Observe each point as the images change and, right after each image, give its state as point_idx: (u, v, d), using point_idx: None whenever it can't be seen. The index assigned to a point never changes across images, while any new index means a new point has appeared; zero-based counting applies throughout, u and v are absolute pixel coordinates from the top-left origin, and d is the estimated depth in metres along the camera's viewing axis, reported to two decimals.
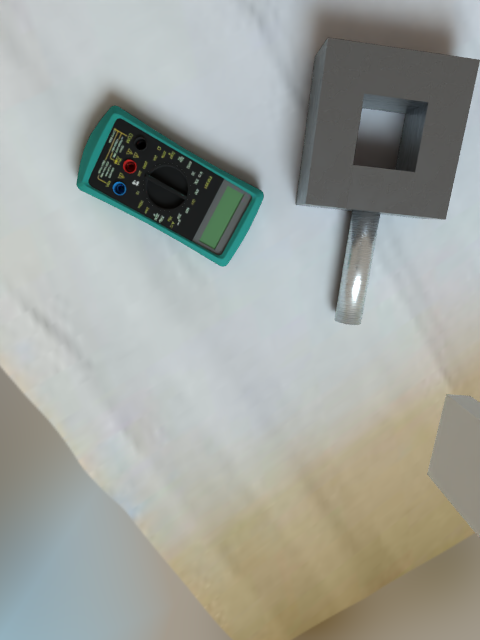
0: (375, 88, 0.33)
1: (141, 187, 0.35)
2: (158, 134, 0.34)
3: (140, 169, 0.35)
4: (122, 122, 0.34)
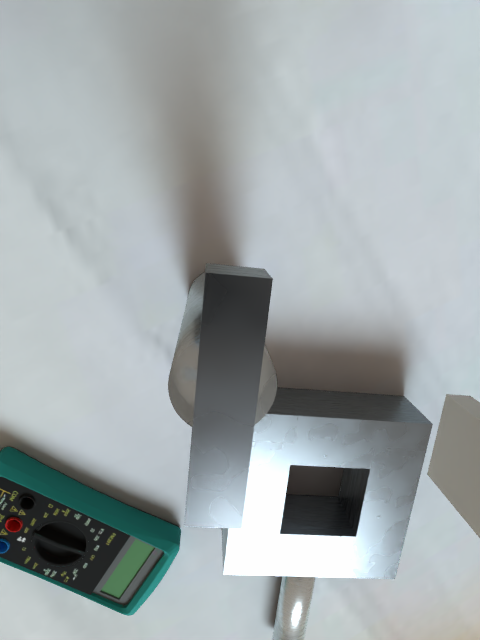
0: (303, 459, 0.26)
1: (28, 543, 0.29)
2: (50, 490, 0.28)
3: (27, 526, 0.29)
4: (5, 480, 0.28)
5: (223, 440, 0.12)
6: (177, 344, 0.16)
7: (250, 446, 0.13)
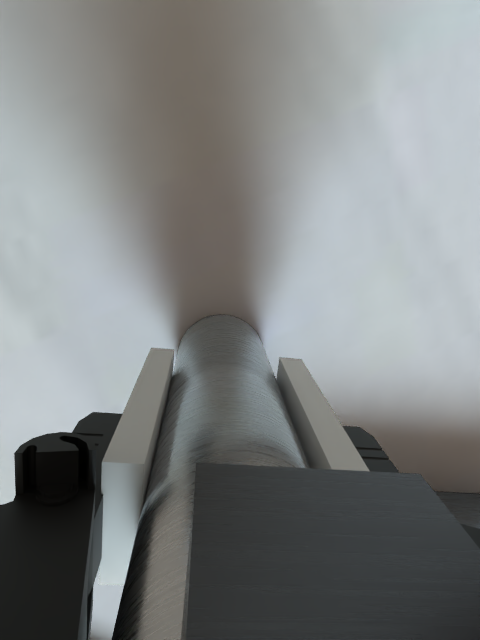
0: None
1: None
2: None
3: None
4: None
5: None
6: (128, 575, 0.06)
7: None
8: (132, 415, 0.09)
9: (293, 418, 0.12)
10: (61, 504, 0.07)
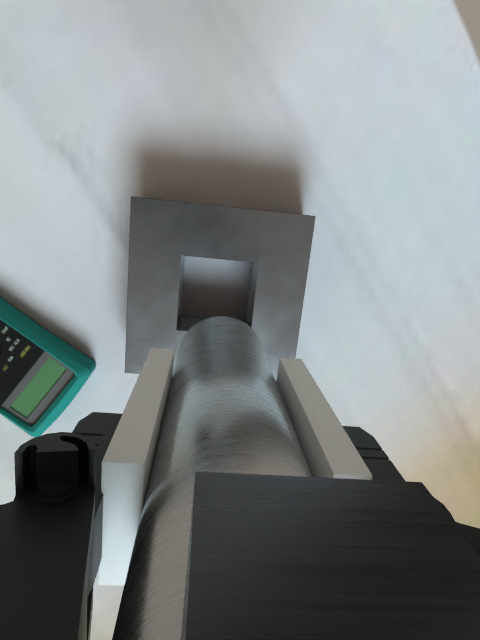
0: (194, 249, 0.28)
1: None
2: None
3: None
4: None
5: None
6: (127, 581, 0.06)
7: None
8: (132, 415, 0.09)
9: (293, 418, 0.12)
10: (61, 504, 0.07)
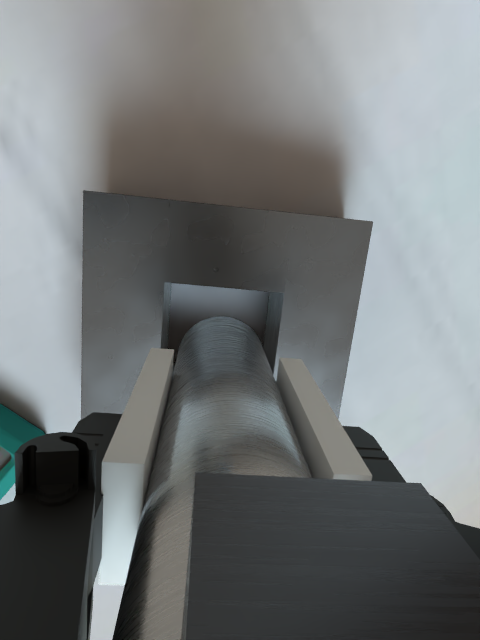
0: (184, 273, 0.18)
1: None
2: None
3: None
4: None
5: None
6: (127, 581, 0.06)
7: None
8: (132, 415, 0.09)
9: (293, 418, 0.12)
10: (61, 504, 0.07)
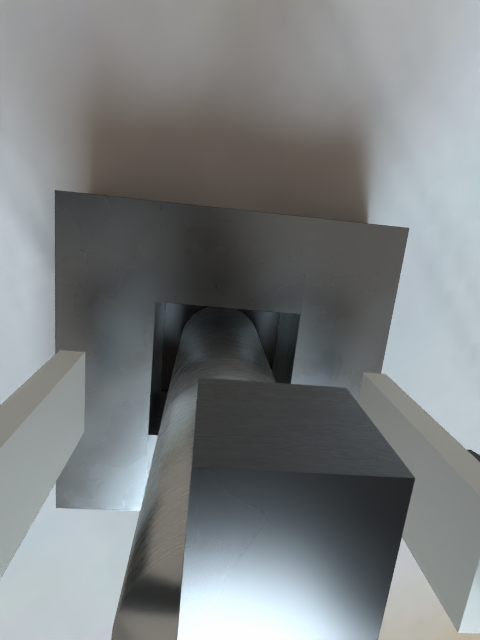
0: (179, 290, 0.15)
1: None
2: None
3: None
4: None
5: None
6: (144, 497, 0.08)
7: None
8: None
9: (398, 440, 0.11)
10: None
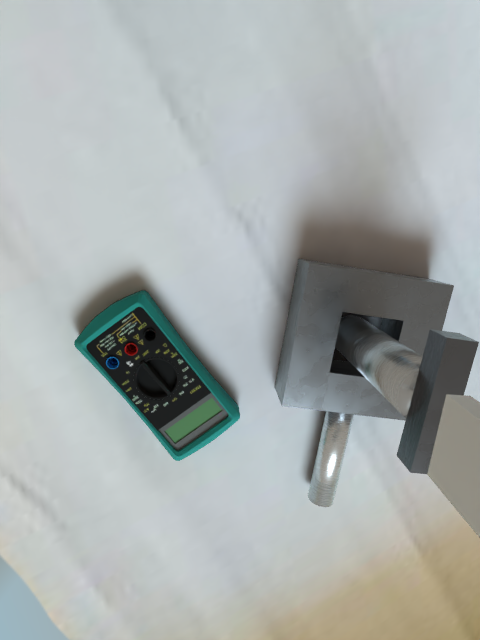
0: (353, 307, 0.34)
1: (133, 369, 0.36)
2: (169, 333, 0.35)
3: (139, 354, 0.35)
4: (142, 311, 0.35)
5: None
6: (385, 370, 0.27)
7: None
8: None
9: None
10: None
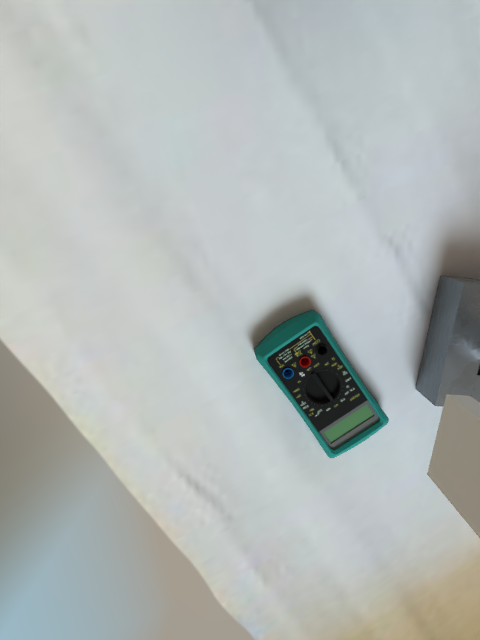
0: None
1: (304, 379, 0.41)
2: (338, 348, 0.41)
3: (311, 366, 0.41)
4: (318, 329, 0.40)
5: None
6: None
7: None
8: None
9: None
10: None
